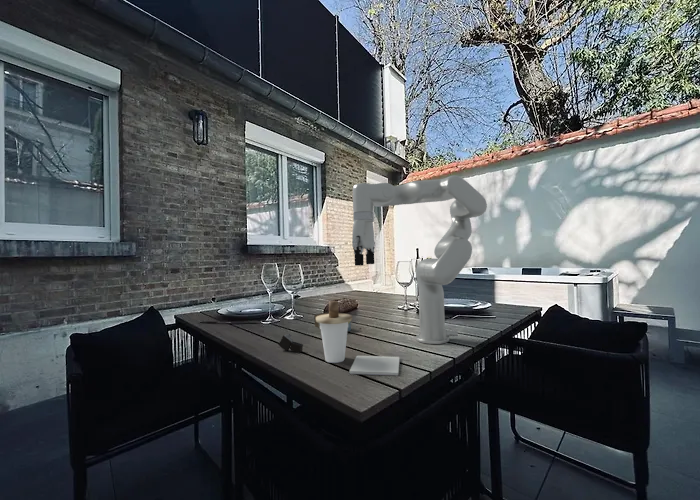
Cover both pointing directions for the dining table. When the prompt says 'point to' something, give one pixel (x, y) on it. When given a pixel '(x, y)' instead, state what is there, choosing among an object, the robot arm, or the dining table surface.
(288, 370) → the dining table surface
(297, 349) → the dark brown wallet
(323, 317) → the lid
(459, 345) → the dining table surface
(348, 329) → the beverage carton
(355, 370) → the mat
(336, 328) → the foam cup
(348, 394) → the dining table surface
